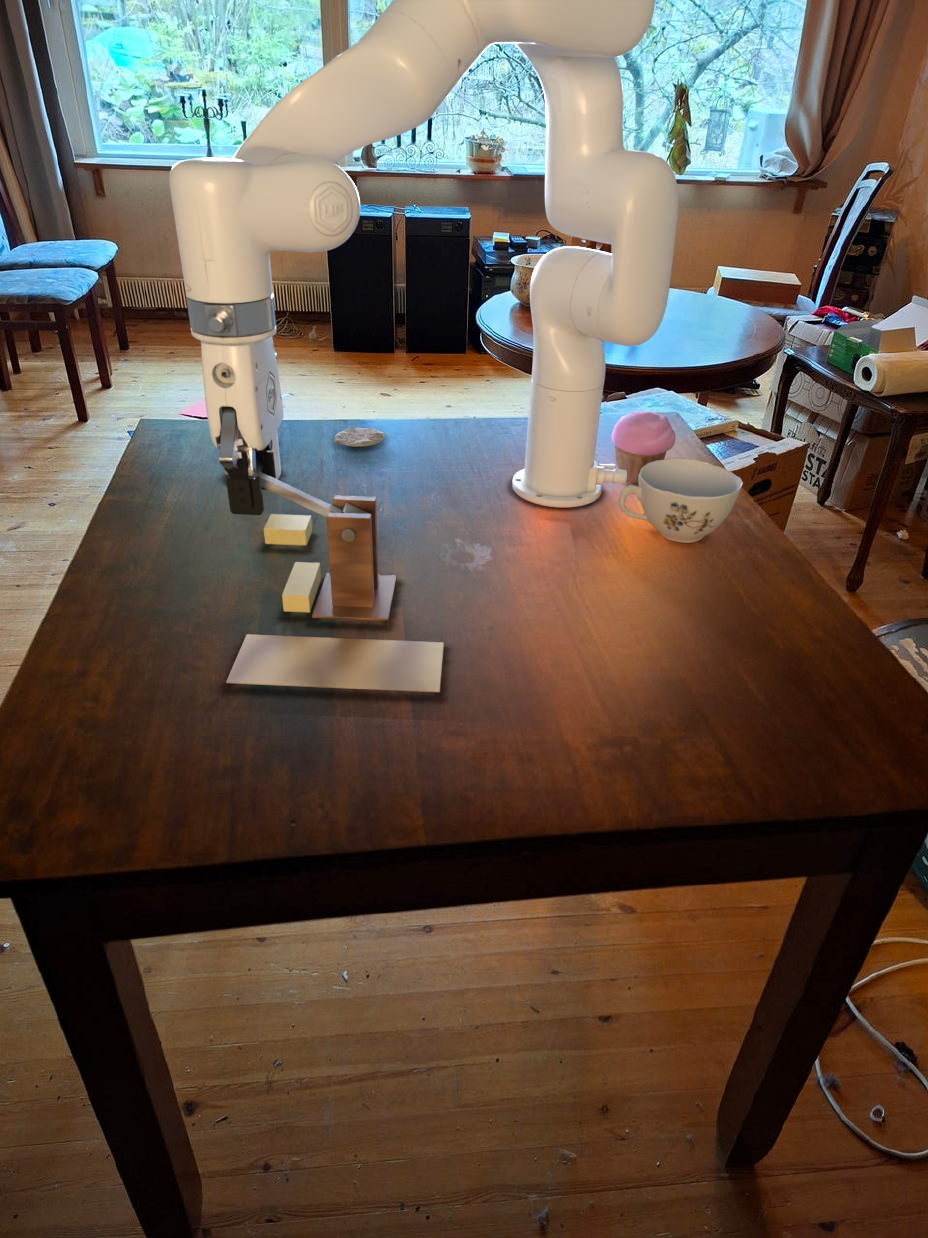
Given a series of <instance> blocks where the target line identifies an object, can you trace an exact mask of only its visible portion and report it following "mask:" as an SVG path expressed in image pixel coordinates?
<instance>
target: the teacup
mask: <svg viewBox="0 0 928 1238" xmlns="http://www.w3.org/2000/svg"><path fill="white" fill-rule="evenodd" d="M743 484H744V482H743V480H742V478H741V477H740V476H737V475H736V474H735V473H733V472H732V471H730V470H728V469H726V468H725V467H724V468H723V467H722V466H721V467H720V466H718V465H713V464H711V463H709V462H705V461H701V460H697V459H692V458H677V457H673V458H672V457H671V458H664V460H656V461H653V462H650V463H647V464H646V465H645V466H644V467H642V468H641V470H640V473H639V478H638V483H637V485H638V486H637V485H635V484H629V485H626V486H625V487H624V488H623V489H622V490H621V492H620V493H619V499H618V506H619V509H620V511H621V512H622V513H623V514H624V515H625V516H626V517H628V518H632V519H638V520H644V521H646V522H648V523H649V524H650V525H651V526H652V527H653V528H654V529H655V530H656V531H657V532H658V534H659V535H660V536H661V537H663V538H664V539H666V540H668V541H672V542H675V543H683V544H691V543H695V542H699V541H700V540H702V539H704V537H705V536H707V535H709V534H710V533H712V532H713V531H715V530H716V529H717V528H719V526H720V525H722V523H724V521H725V520H726V519H727V518H728V516H729V515H730V513H731V512H732V510H733V508H734V507H735V504H736V502H737V500H738V497H739V494H740V491H741V489H742V487H743ZM632 494H634V495H635V496H636V497H637V500H639V502H640V505H641V508H642V510H643V513H638V512H636V511H633V510H631V509H629V508H628V507H627V506H626V505H625V502H626V499H627V497H628V496H630V495H632Z"/></svg>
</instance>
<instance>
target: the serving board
mask: <svg viewBox="0 0 928 1238" xmlns="http://www.w3.org/2000/svg"><path fill="white" fill-rule="evenodd" d="M444 646H445V643H444V642H442V641H441V642H437V641H415V640H414V641H413V640H395V639H393V640H392V639H391V640H390V639H368V638H367V639H365V638H343V637H319V636H299V635H298V636H297V635H296V636H295V635H271V634H250V633H248V634H246V635H245V637H244V640H243V642H242V645H241V646H240V649H239V651H238V654H237V656H236V658H235V661H234V663H233V665H232V667H231V670H230V671H229V674H228V677H227V679H226V681H225V684H237V685H238V684H239V685H263V686H285V687H287V686H288V687H308V688H309V687H311V688H330V689H332V688H333V689H334V688H335V689H354V690H355V689H358V690H376V691H377V690H380V691H399V692H401V691H402V692H403V691H404V692H423V693H424V692H425V693H427V692H428V693H440V692H441V680H442V669H443V660H444V659H443V657H444Z"/></svg>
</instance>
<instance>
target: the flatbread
mask: <svg viewBox="0 0 928 1238" xmlns="http://www.w3.org/2000/svg"><path fill="white" fill-rule="evenodd" d="M385 439H386V434H385V432H384V431H381V430H378V429H376V428H373V427H349V428H346V429H343V430H342V431H340V432H337V433H336V435H334V442H335V443H336V444H338V445H342V446H346V447H351V448H362V447H363V448H364V447H371V446H375V445H377V444H380V443H382V442H383V441H384V440H385Z"/></svg>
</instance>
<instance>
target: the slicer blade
mask: <svg viewBox="0 0 928 1238" xmlns="http://www.w3.org/2000/svg"><path fill="white" fill-rule="evenodd" d="M264 467H265V465H264V463H263V461H262V460H260V459H256V475H257V476H260V480H261V487H262V488H265V489H267V491H269V492H270V493H273V494H275V495H278V496H280V497H282V498H284V499H286V500H288V501H291V502H292V503H295V504H297V505H299V506H300V507H303V508H306V509H307V510H310V511H312V512H314V513H316V514H318V515H321V516H322V517H324V518H326V516H327V514H328V513H352V514H369V513H367V512H365V511H363V510H361V509H358V508H356V507H354V506H352V505H350V504H348V503H346V504H345V506H344V508H343V510H341V509H338V508H336V507H334V506H333V504H329V503H328V502H326V501H324V500H321V499H320V498H317V497H315V496H313V495H311V494H308V493H307V492H304V491H302V490H300V489H298V488H296V487H294V486H292V485H291V484H290V485H289V484H287V483H286V482H283V481H281V480H280V479H278V480H277V479H275V478H273V477H270V476H268V475H266V474H264V473H262V471H263V470H264Z"/></svg>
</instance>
